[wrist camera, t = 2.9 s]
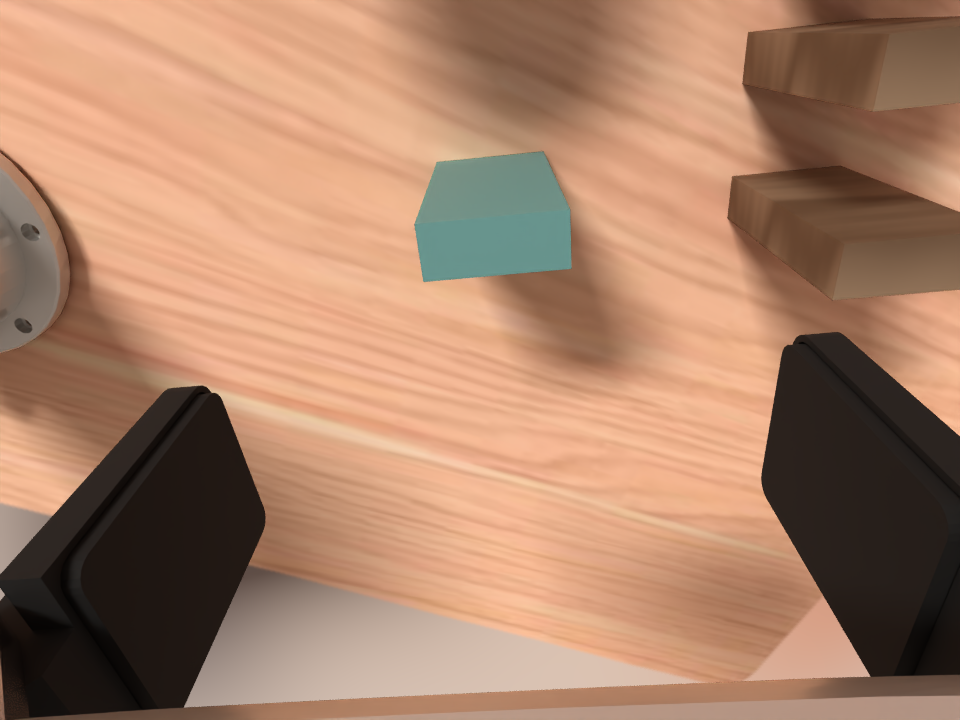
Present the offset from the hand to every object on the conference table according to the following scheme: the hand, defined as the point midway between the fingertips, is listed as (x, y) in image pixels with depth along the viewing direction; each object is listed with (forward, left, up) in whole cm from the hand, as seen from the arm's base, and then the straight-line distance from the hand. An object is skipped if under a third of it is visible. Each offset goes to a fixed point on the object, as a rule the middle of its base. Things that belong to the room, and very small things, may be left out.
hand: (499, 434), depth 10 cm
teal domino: (0, 0, -21) cm, 21 cm away
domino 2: (+5, -13, -21) cm, 25 cm away
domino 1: (+10, -10, -21) cm, 25 cm away
